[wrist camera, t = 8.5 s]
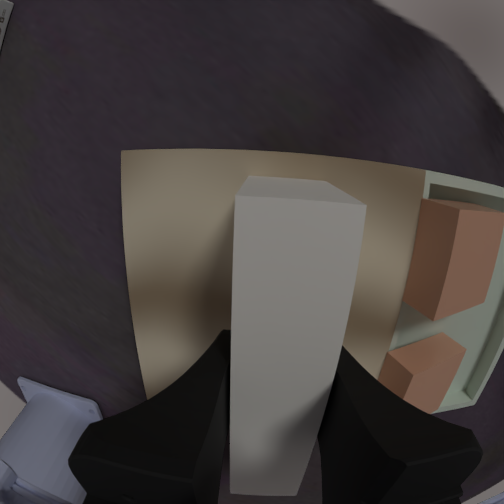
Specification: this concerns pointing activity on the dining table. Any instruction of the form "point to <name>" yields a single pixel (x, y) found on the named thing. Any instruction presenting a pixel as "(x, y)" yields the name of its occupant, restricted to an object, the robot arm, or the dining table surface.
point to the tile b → (452, 257)
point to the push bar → (286, 323)
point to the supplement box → (4, 17)
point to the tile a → (423, 370)
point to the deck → (221, 247)
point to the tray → (470, 320)
